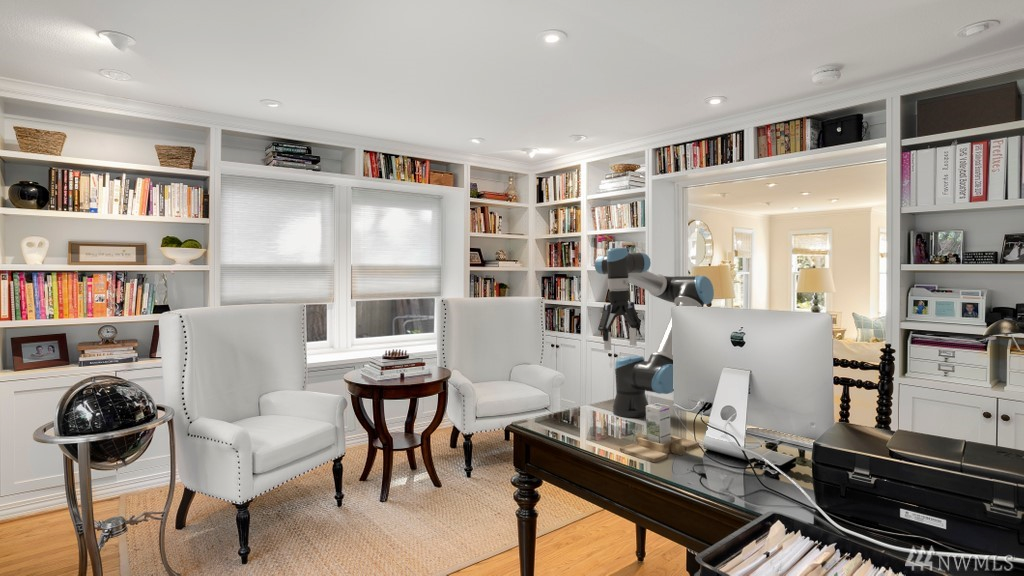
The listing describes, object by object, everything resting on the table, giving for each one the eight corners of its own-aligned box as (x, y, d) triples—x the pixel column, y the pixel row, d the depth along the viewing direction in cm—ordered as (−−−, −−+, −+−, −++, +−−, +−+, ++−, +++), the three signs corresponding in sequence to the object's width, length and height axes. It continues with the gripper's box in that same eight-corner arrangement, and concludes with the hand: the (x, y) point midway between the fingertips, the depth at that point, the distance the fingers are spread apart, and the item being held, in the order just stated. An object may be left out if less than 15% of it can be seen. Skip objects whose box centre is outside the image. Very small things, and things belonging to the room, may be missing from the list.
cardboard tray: (615, 450, 177) (615, 439, 177) (660, 435, 190) (659, 425, 190) (658, 464, 163) (658, 452, 163) (703, 447, 176) (703, 436, 176)
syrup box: (672, 448, 176) (670, 405, 175) (660, 453, 172) (658, 408, 172) (658, 444, 181) (656, 402, 180) (646, 448, 177) (644, 405, 177)
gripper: (601, 292, 186) (604, 352, 187) (649, 288, 201) (651, 344, 202) (586, 292, 193) (589, 350, 193) (633, 288, 207) (635, 342, 208)
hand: (620, 347), depth 198 cm, fingers open, 13 cm apart
